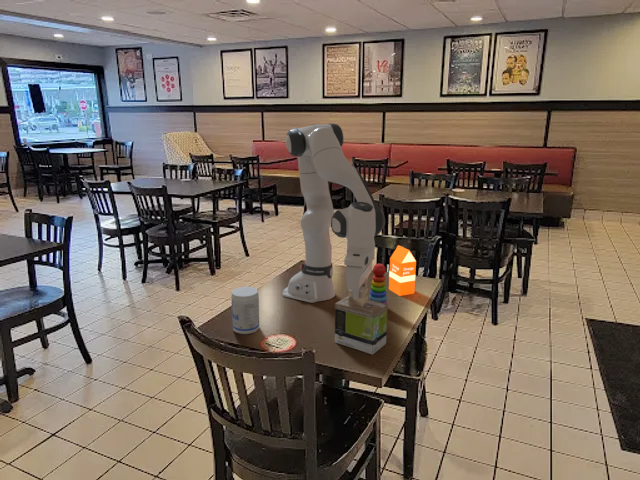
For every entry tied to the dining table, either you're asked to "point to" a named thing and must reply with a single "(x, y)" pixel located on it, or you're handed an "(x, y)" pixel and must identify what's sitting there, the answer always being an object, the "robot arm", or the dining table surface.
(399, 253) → the orange juice
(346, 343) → the tea box
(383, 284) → the stacking toy
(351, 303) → the birch cube
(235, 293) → the supplement tub
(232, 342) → the dining table surface
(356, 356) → the dining table surface
